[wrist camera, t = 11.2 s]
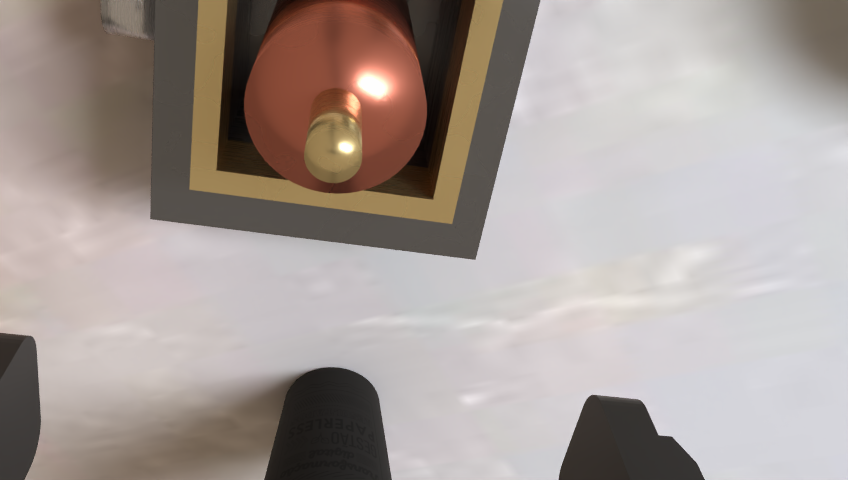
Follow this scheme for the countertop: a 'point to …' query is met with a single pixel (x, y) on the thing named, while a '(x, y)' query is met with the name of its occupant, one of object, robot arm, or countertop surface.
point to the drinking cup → (330, 430)
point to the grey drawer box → (307, 209)
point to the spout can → (337, 93)
